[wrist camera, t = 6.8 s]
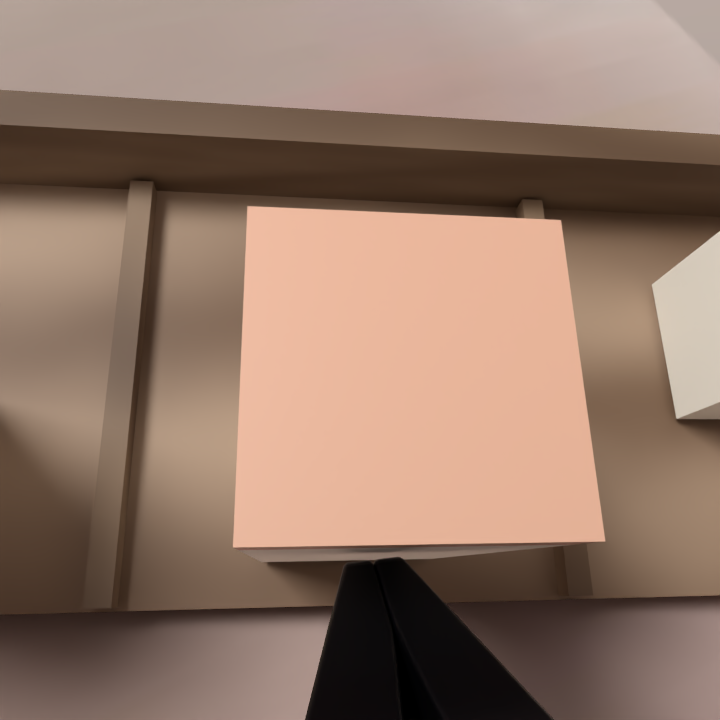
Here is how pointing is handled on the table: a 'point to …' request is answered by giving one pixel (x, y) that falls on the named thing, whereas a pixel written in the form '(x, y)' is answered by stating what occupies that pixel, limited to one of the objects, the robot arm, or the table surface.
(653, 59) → the table surface
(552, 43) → the table surface
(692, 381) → the white tall block
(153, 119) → the brown divided rack
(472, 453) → the peach block
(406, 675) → the robot arm
